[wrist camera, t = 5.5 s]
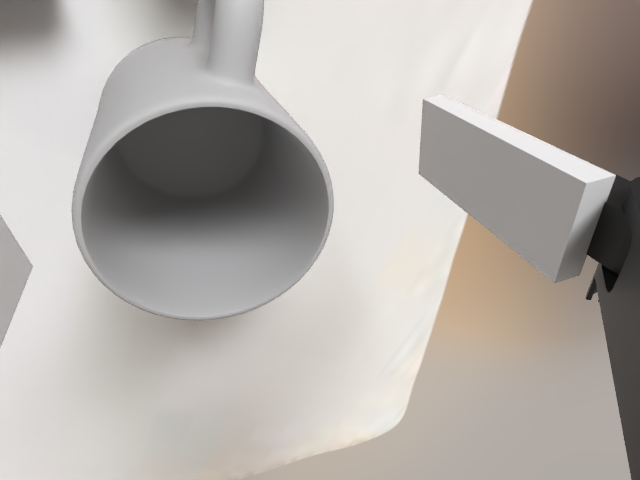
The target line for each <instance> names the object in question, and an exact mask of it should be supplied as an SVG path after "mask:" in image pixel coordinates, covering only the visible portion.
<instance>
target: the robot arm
mask: <svg viewBox="0 0 640 480" xmlns="http://www.w3.org/2000/svg"><path fill="white" fill-rule="evenodd" d="M419 174H420V175H421V176H422V177H423V178H425V179H426V180H427V181H428V182H430V183H431V184H432V185H433V186H435V187H436V188H437V189H438V190H439V191H441V192H442V193H443V194H444V195H446V196H447V197H448V198H449V199H451V200H452V201H453V202H454V203H456V204H457V205H458V206H459V207H460V208H462V209H463V210H464V211H465V212H467V213H468V214H469V215H470V216H472V217H473V218H474V219H475V220H477V221H478V222H479V223H480V224H481V225H483V226H484V227H485V228H486V229H488V230H489V231H490V232H491V233H493V234H494V235H495V236H496V237H498V238H499V239H500V240H501V241H502V242H504V243H505V244H506V245H508V246H509V247H510V248H511V249H513V250H514V251H515V252H516V253H517V254H519V255H520V256H521V257H522V258H524V259H525V260H526V261H527V262H528V263H530V264H531V265H532V266H533V267H535V268H536V269H537V270H538V271H540V272H541V273H542V274H543V275H545V276H546V277H547V278H548V279H549V280H551V281H552V282H553V283H557V282H560V281H563V280H566V279H569V278H572V277H575V276H578V275H580V273H581V270H582V267H583V265H584V262H585V259H586V257H587V255H589V256H590V257H592V258H593V259H595V260H596V261H598V262H599V264H598V266H597V269H596V271H595V274H594V276H593V279H592V282H591V284H590V287H589V289H588V292H587V295H586V299H587V300H591V298H592V296H593V294H594V293H596V292H598V297H599V300H598V302H600V307H601V313H602V319H603V325H604V330H605V335H606V340H607V347H608V352H609V357H610V363H611V368H612V374H613V380H614V385H615V391H616V396H617V402H618V407H619V413H620V418H621V423H622V429H623V435H624V440H625V445H626V451H627V456H628V462H629V467H630V473H631V479H632V480H640V177H638V178H635V179H634V180H632V181H629V180H627V179H624V178H622V177H620V176H618V175H616V174H614V173H611V172H609V171H607V170H605V169H603V168H601V167H599V166H597V165H594V164H592V163H590V162H586V160H584V159H581V158H579V157H577V156H574V155H573V154H571V153H569V152H566V151H564V150H562V149H560V148H558V147H554V146H552V145H550V144H548V143H546V142H543V141H542V140H539V139H537V138H535V137H533V136H531V135H529V134H526V133H524V132H522V131H520V130H518V129H516V128H514V127H512V126H509V125H507V124H505V123H503V122H501V121H499V120H497V119H494V118H492V117H490V116H488V115H486V114H484V113H482V112H479V111H477V110H475V109H473V108H471V107H469V106H467V105H464V104H462V103H460V102H458V101H456V100H454V99H452V98H449V97H447V96H445V95H439V96H434V97H429V98H424V99H423V108H422V125H421V142H420V160H419ZM32 267H33V266H32V264H31V263H30V261H29V260H28V258H27V256H26V255H25V253H24V252H23V250H22V248H21V247H20V245H19V244H18V242H17V240H16V239H15V237H14V236H13V234H12V232H11V231H10V229H9V228H8V226H7V225H6V223H5V221H4V220H3V218H2V217H1V215H0V347H1V345H2V342H3V340H4V337H5V335H6V332H7V330H8V327H9V325H10V322H11V320H12V317H13V315H14V312H15V310H16V307H17V305H18V302H19V300H20V297H21V295H22V292H23V290H24V287H25V285H26V282H27V280H28V277H29V275H30V272H31V270H32Z"/></svg>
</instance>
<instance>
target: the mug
mask: <svg viewBox="0 0 640 480" xmlns="http://www.w3.org/2000/svg"><path fill="white" fill-rule="evenodd" d="M263 11H264V0H198V3H197V10H196V19H195V26H194V33H193V38H183V37H175V38H165V39H161V40H156V41H153V42H150V43H148V44H145V45H143V46H141V47H139V48H137V49H136V50H134V51H132V52H131V53H130V54H128V55H127V56H126V57H125V58H123V60H122V61H121V62H120V63H119V64H118V65H117V66H116V67H115V69H114V70H113V72H112V73H111V75H110V76H109V78H108V80H107V82H106V84H105V86H104V89H103V92H102V95H101V99H100V103H99V108H98V112H97V115H96V118H95V121H94V124H93V127H92V131H91V134H90V137H89V140H88V143H87V146H86V149H85V152H84V155H83V159H82V162H81V165H80V168H79V172H78V175H77V179H76V183H75V186H74V191H73V201H72V221H73V230H74V234H75V238H76V241H77V245H78V247H79V249H80V251H81V254H82V256H83V258H84V260H85V261H86V263H87V265H88V266H89V268H90V269H91V271H92V272H93V273H94V275H95V276H96V277H97V278H98V279H99V280H100V281H101V283H102V284H103V285H105V286H106V287H107V288H108V289H109V290H110V291H111V292H113V293H114V294H115V295H117V296H118V297H120V298H121V299H123V300H124V301H126V302H128V303H130V304H132V305H134V306H136V307H138V308H140V309H142V310H145V311H148V312H151V313H153V314H157V315H161V316H165V317H169V318H176V319H183V320H210V319H219V318H225V317H230V316H234V315H238V314H242V313H245V312H248V311H250V310H253V309H256V308H258V307H260V306H262V305H264V304H266V303H268V302H270V301H272V300H274V299H275V298H277V297H279V296H280V295H282V294H283V293H284V292H286V291H287V290H288V289H290V288H291V287H292V286H293V285H294V284H295V283H297V282H298V281H299V280H300V279H301V278H302V277H303V276H304V274H305V273H306V272H307V271H308V270H309V269H310V268H311V266H312V265H313V263H314V262H315V261H316V259H317V258H318V256H319V254H320V252H321V251H322V249H323V247H324V245H325V242H326V240H327V237H328V235H329V231H330V227H331V224H332V217H333V210H334V204H333V189H332V183H331V179H330V175H329V172H328V169H327V166H326V164H325V162H324V160H323V158H322V156H321V154H320V152H319V150H318V149H317V147H316V146H315V144H314V143H313V141H312V140H311V139H310V137H309V136H308V135H307V134H306V133H305V131H304V130H303V129H302V128H301V127H300V126H299V125H298V124H297V123H296V121H295V120H294V119H293V118H292V117H291V116H290V115H289V113H288V112H287V111H286V110H285V109H284V108H283V107H282V106H281V105H280V104H279V103H278V102H277V101H276V100H275V98H274V97H273V96H272V95H271V94H270V93H269V92H268V91H267V90H266V89H265V88H264V86H263V85H262V84H261V83H260V82H259V80H258V79H257V78H256V77H255V67H256V61H257V55H258V49H259V43H260V37H261V30H262V22H263Z"/></svg>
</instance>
